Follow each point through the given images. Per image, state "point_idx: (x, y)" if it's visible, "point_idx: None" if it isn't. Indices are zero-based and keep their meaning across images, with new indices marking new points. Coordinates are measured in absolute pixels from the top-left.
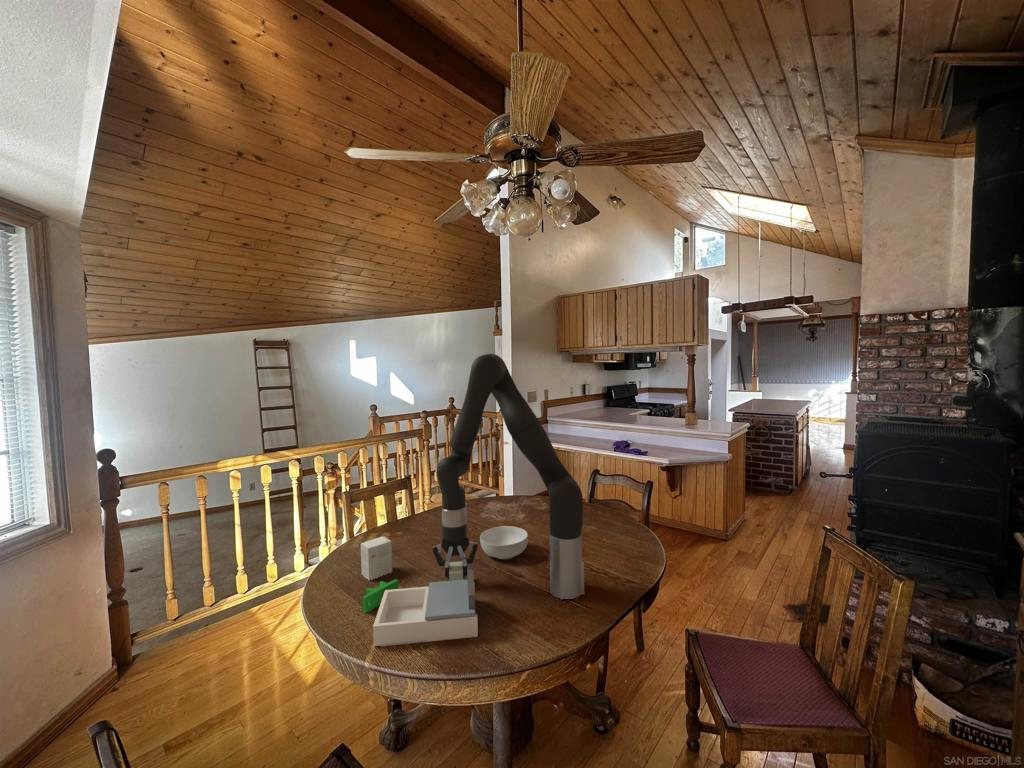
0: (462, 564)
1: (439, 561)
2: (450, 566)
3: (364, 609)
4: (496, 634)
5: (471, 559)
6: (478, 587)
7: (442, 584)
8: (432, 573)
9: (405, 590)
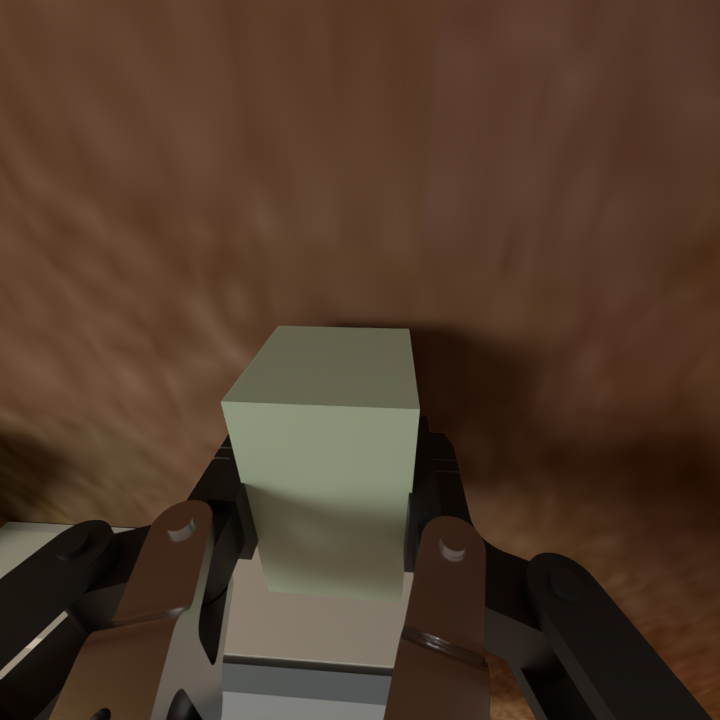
0: (408, 539)
1: (74, 660)
2: (256, 493)
3: None
4: (491, 682)
5: (554, 693)
6: (506, 449)
7: (247, 709)
8: (78, 150)
9: (27, 647)
